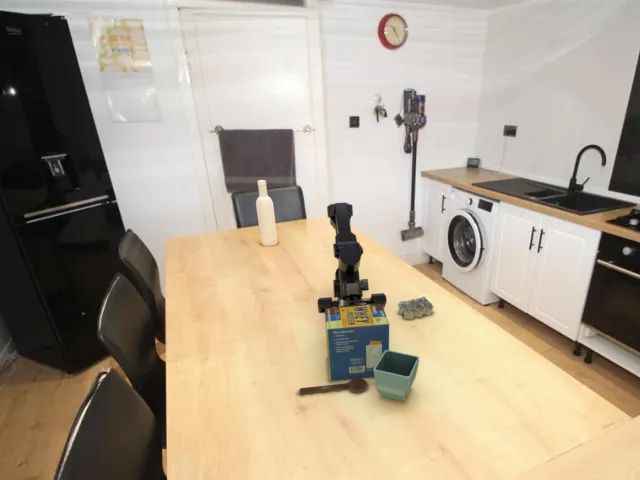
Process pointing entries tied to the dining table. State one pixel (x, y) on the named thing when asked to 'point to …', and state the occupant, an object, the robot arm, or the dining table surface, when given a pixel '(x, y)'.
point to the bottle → (266, 216)
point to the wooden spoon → (339, 387)
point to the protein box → (355, 340)
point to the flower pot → (395, 374)
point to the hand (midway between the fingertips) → (354, 333)
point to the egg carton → (415, 308)
